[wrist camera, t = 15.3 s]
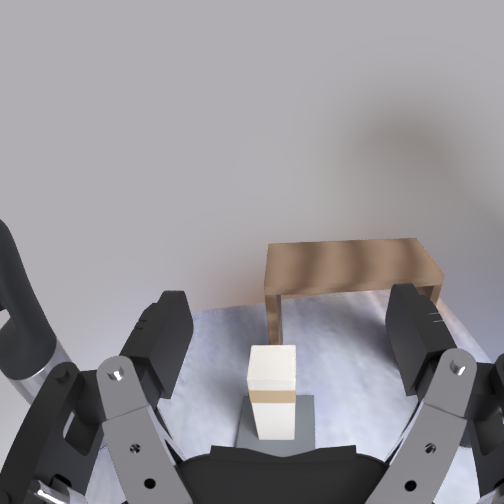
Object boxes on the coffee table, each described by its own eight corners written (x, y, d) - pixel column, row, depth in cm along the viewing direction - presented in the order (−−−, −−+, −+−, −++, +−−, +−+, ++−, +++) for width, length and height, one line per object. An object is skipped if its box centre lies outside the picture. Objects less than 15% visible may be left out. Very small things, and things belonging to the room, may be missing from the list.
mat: (235, 458, 30) (234, 455, 30) (244, 398, 39) (243, 395, 39) (314, 459, 29) (315, 457, 29) (313, 398, 38) (313, 395, 37)
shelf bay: (273, 383, 41) (264, 285, 33) (275, 337, 50) (268, 243, 41) (410, 372, 38) (444, 275, 30) (396, 330, 47) (416, 238, 38)
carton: (258, 439, 32) (246, 379, 25) (261, 411, 36) (251, 345, 29) (294, 440, 31) (296, 379, 25) (295, 411, 35) (296, 344, 29)
